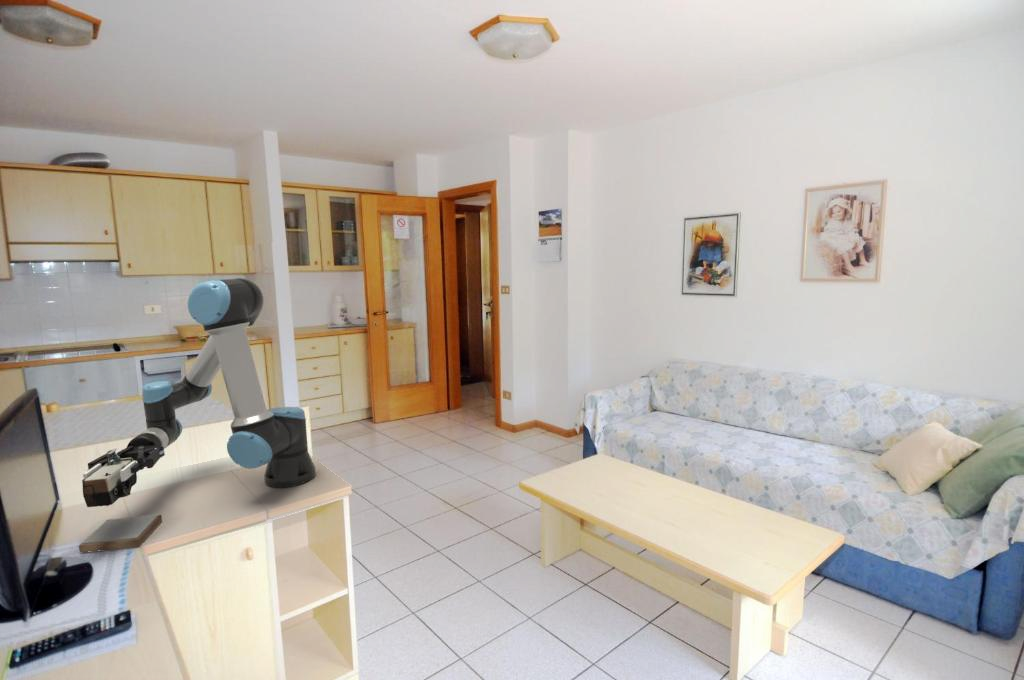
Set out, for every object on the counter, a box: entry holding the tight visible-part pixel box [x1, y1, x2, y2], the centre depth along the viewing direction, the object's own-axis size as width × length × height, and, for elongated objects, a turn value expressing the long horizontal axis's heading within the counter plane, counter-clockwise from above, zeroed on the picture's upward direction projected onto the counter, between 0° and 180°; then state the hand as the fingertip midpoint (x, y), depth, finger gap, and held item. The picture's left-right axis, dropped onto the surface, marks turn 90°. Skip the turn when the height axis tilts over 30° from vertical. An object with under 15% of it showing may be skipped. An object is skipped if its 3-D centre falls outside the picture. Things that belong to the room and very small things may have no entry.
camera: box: [81, 448, 138, 508], centre depth 135 cm, size 15×8×10 cm, turn 11°
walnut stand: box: [78, 514, 163, 553], centre depth 138 cm, size 13×13×2 cm
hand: (104, 477), depth 131 cm, fingers closed on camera, 7 cm apart
